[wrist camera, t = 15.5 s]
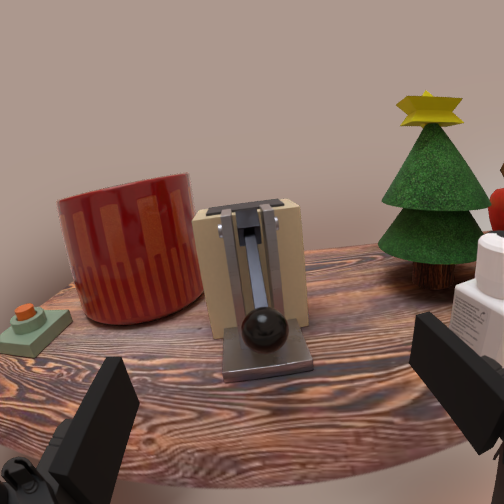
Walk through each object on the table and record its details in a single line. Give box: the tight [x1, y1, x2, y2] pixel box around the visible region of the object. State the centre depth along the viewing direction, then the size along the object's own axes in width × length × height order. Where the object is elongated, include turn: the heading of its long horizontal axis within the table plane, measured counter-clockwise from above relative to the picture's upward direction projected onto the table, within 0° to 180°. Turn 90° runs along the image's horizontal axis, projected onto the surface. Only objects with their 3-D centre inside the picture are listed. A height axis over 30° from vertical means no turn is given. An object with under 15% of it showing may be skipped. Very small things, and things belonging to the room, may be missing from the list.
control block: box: [0, 307, 73, 358], centre depth 41 cm, size 12×10×4 cm
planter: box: [56, 173, 204, 325], centre depth 51 cm, size 23×23×20 cm
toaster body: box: [192, 199, 309, 339], centre depth 40 cm, size 8×12×15 cm, turn 93°
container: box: [449, 230, 504, 368], centre depth 23 cm, size 8×8×13 cm
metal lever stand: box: [218, 204, 313, 383], centre depth 34 cm, size 12×9×16 cm
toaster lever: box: [235, 208, 289, 354], centre depth 27 cm, size 15×4×4 cm, turn 3°
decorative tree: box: [378, 91, 492, 289], centre depth 41 cm, size 19×19×30 cm
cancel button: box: [15, 303, 36, 321], centre depth 40 cm, size 4×4×2 cm
